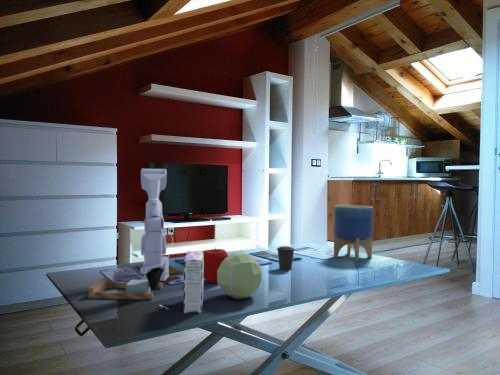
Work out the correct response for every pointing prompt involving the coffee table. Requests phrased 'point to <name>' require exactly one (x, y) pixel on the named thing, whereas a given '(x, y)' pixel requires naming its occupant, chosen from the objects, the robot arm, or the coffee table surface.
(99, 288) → the track
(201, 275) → the candy box
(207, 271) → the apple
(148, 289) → the keeper
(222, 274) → the decorative sphere
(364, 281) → the coffee table surface
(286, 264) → the coffee cup
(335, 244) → the planter
